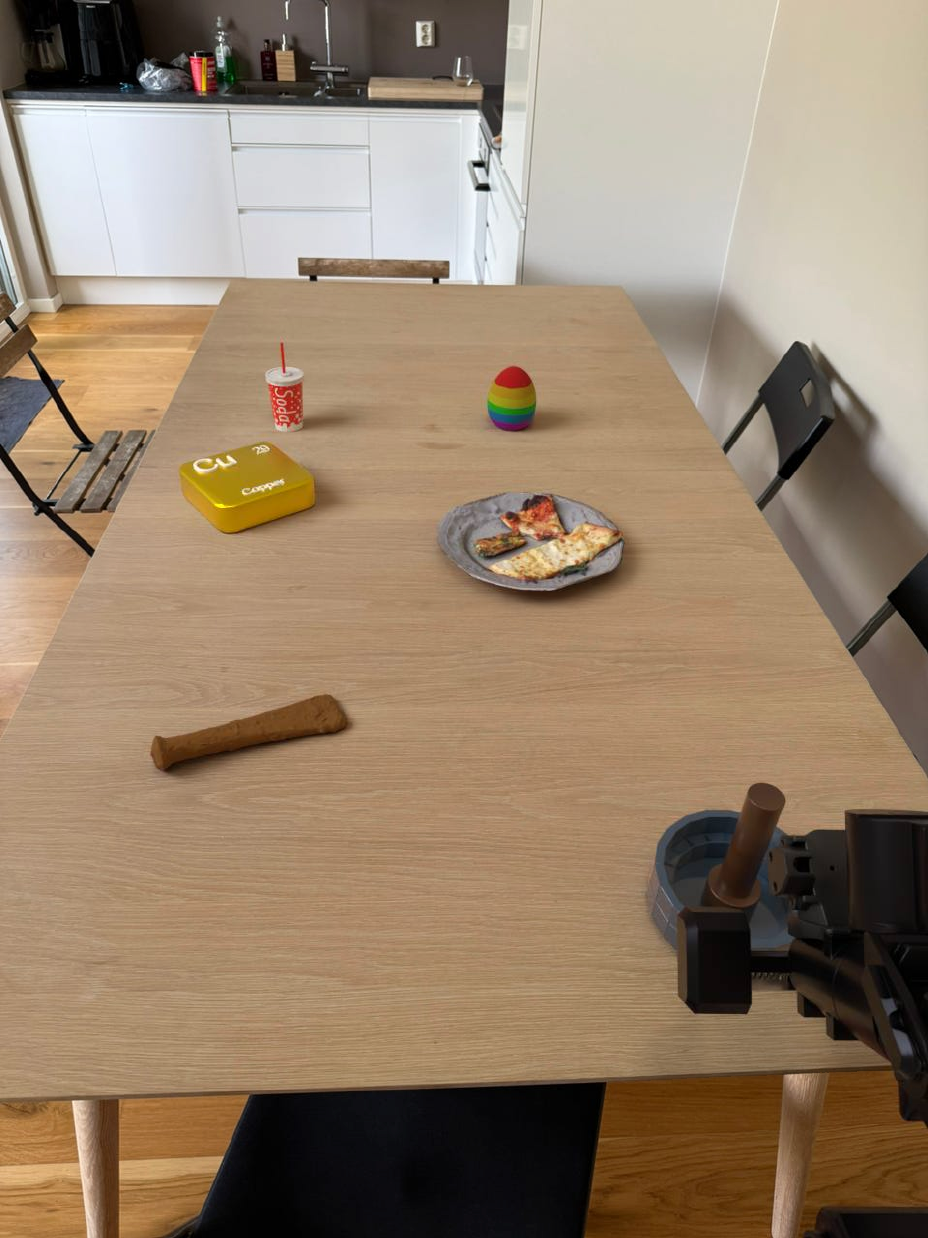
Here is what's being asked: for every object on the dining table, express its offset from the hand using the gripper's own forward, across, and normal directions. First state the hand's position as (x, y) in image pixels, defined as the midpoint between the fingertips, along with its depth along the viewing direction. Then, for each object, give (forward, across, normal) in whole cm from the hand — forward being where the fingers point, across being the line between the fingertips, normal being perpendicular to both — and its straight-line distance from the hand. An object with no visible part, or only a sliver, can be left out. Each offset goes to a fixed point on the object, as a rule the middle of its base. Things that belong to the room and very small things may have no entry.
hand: (776, 932), depth 65 cm
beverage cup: (+76, +51, -64) cm, 112 cm away
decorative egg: (+79, +14, -66) cm, 104 cm away
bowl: (+12, 0, +1) cm, 12 cm away
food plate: (+51, +13, -39) cm, 65 cm away
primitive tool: (+26, +44, -13) cm, 53 cm away
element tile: (+59, +53, -47) cm, 92 cm away
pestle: (+11, 0, 0) cm, 11 cm away
